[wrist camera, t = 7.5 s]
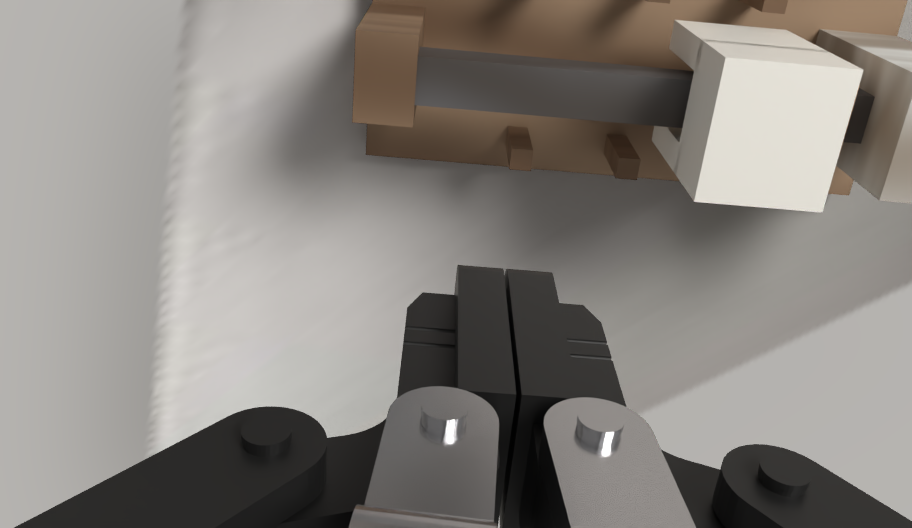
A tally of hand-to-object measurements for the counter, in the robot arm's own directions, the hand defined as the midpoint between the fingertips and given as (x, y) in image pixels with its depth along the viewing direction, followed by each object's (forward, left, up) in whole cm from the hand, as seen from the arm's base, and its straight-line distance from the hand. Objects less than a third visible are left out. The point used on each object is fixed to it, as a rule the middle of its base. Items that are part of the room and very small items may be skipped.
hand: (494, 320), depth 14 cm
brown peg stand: (0, +6, -23) cm, 23 cm away
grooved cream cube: (0, +9, -19) cm, 21 cm away
